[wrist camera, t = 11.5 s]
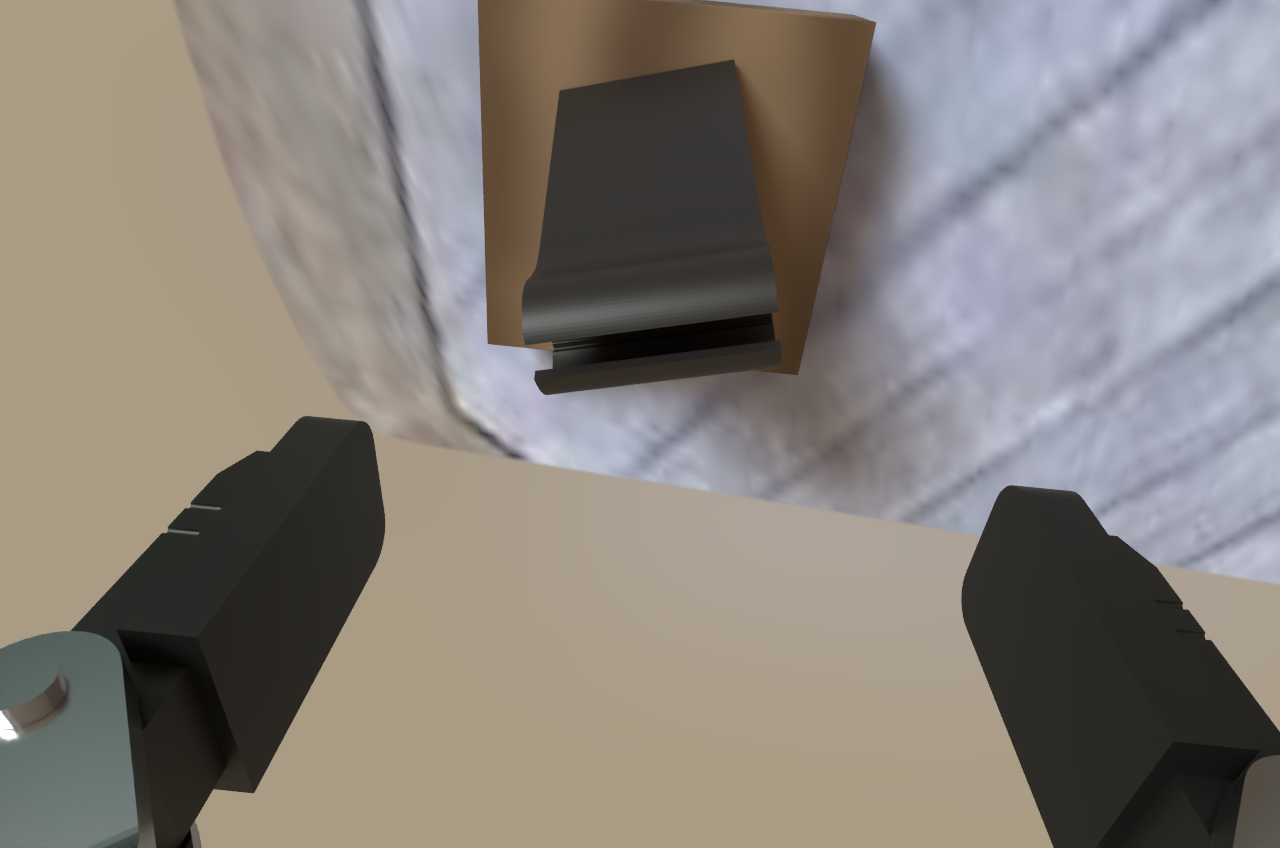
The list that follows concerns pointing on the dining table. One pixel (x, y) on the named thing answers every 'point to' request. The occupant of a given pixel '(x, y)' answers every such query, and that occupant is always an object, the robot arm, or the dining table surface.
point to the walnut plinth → (652, 43)
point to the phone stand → (651, 237)
